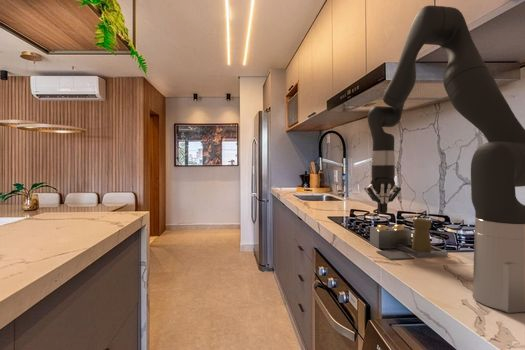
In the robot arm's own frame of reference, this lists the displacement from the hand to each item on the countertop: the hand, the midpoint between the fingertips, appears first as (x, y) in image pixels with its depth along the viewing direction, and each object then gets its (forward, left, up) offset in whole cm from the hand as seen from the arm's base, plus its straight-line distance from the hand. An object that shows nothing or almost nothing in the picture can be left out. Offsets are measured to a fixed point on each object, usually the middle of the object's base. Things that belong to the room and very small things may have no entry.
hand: (382, 214), depth 106 cm
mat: (-11, +2, -11) cm, 16 cm away
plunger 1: (0, 0, -9) cm, 9 cm away
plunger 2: (0, -6, -9) cm, 11 cm away
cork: (-9, -9, -12) cm, 17 cm away
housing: (-5, -6, -11) cm, 14 cm away
